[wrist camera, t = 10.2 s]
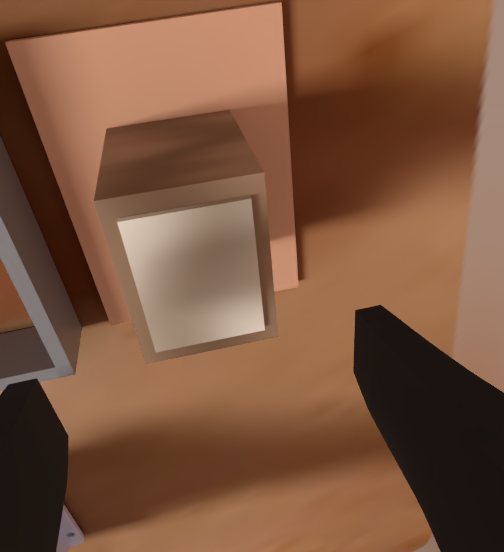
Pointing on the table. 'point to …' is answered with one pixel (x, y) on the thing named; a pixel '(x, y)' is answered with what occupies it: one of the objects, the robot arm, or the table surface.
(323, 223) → the table surface
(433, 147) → the table surface
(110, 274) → the tile
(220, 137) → the walnut box
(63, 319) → the bin
